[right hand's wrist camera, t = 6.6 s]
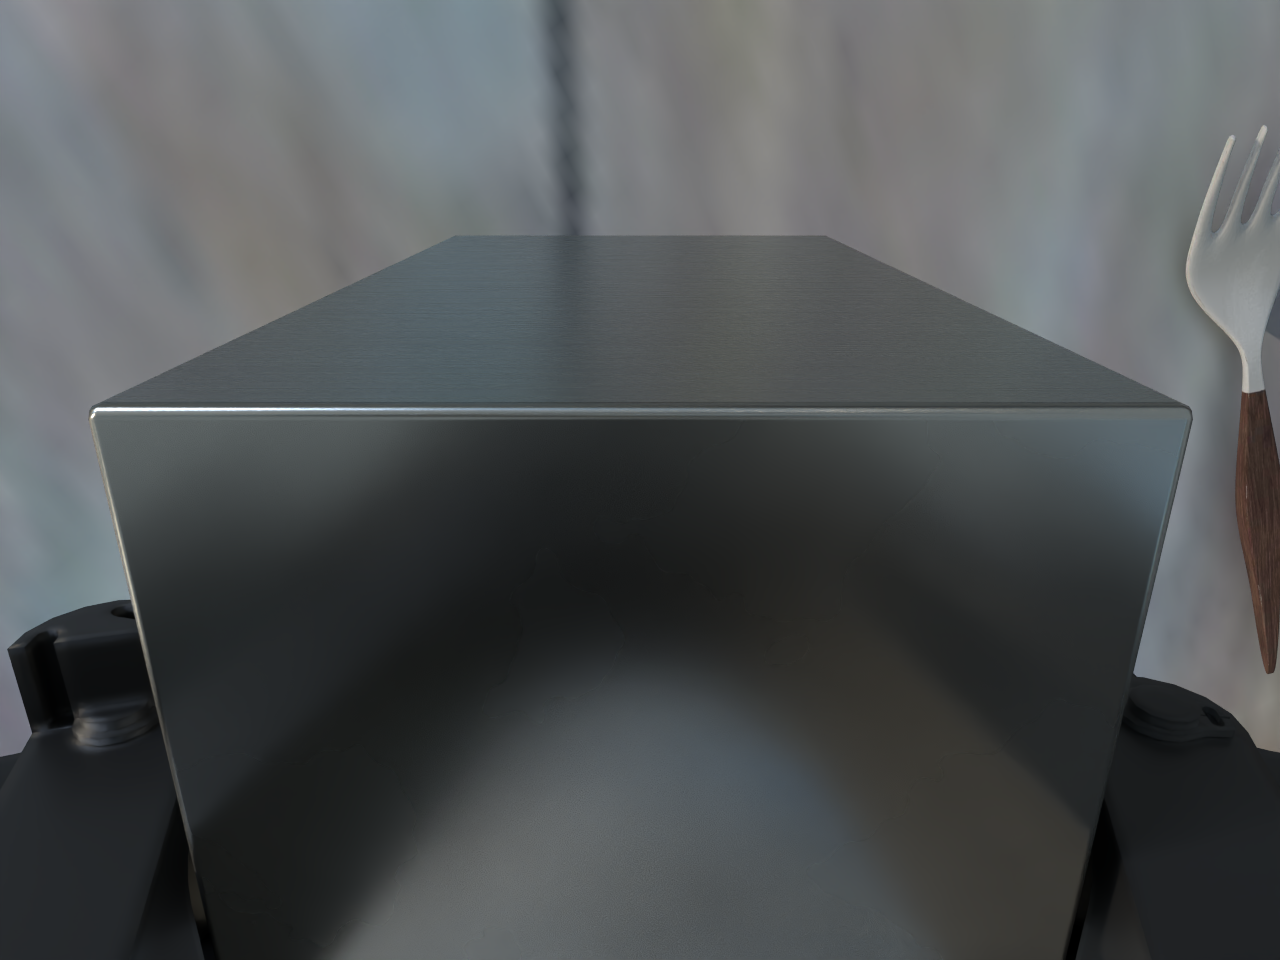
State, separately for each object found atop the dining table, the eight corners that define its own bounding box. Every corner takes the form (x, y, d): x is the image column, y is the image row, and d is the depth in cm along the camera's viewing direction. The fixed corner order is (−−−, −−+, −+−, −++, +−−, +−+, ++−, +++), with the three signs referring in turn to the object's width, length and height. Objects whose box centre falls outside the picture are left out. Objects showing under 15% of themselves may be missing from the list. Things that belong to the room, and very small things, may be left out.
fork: (1214, 674, 27) (1257, 714, 25) (1171, 139, 21) (1222, 138, 19) (1302, 653, 26) (1352, 691, 25) (1281, 106, 21) (1344, 101, 19)
